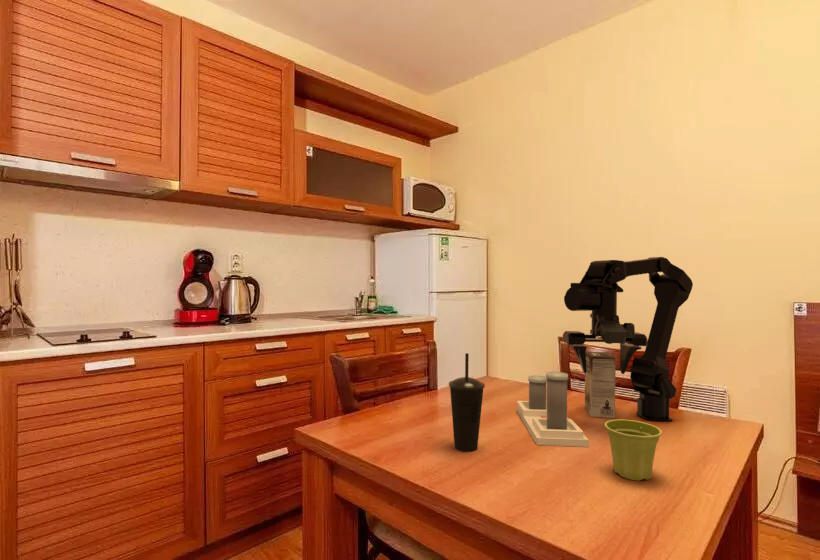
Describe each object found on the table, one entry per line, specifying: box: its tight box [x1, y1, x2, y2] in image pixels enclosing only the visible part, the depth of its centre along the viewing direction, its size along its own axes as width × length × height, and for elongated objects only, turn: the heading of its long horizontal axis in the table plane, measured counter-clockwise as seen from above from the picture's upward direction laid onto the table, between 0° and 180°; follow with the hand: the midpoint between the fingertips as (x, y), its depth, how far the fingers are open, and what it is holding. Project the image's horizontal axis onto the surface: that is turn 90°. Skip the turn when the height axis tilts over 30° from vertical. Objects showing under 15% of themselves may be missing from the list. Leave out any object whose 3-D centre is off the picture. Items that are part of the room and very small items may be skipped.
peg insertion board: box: [516, 374, 590, 448], centre depth 106 cm, size 11×25×10 cm, turn 176°
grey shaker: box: [545, 371, 569, 430], centre depth 99 cm, size 5×5×13 cm
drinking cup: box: [448, 352, 486, 453], centre depth 92 cm, size 8×8×20 cm
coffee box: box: [584, 351, 617, 419], centre depth 119 cm, size 9×6×16 cm
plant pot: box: [604, 418, 663, 482], centre depth 80 cm, size 9×9×9 cm
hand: (603, 373), depth 108 cm, fingers open, 9 cm apart
